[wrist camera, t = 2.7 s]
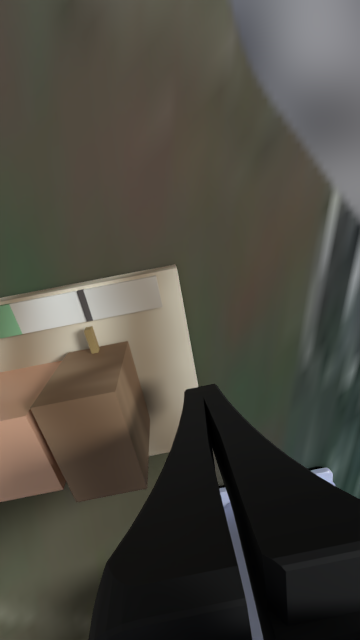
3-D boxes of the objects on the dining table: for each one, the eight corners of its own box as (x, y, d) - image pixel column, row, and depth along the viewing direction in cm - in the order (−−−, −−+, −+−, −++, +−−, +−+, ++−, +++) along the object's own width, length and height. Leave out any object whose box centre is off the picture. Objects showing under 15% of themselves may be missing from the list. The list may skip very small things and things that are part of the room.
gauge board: (175, 264, 13) (177, 268, 12) (205, 431, 17) (209, 447, 16) (-165, 329, 13) (-198, 340, 12) (-52, 482, 17) (-68, 501, 16)
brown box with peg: (121, 318, 12) (105, 361, 9) (150, 419, 15) (147, 488, 11) (59, 330, 12) (16, 379, 9) (97, 429, 15) (76, 502, 11)
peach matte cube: (63, 360, 13) (25, 416, 9) (87, 420, 15) (63, 489, 11) (-15, 375, 13) (-84, 437, 9) (17, 434, 15) (-31, 508, 11)
